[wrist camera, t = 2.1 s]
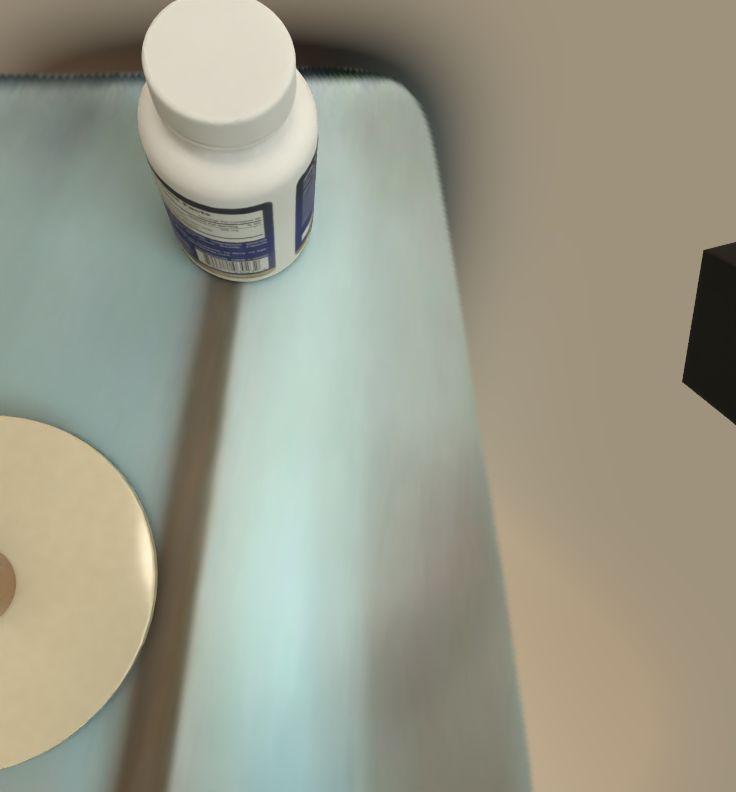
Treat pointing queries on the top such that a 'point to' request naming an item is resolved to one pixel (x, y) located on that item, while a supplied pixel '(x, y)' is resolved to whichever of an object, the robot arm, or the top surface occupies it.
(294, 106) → the pill bottle
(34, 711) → the lid
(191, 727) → the top surface
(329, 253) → the top surface
